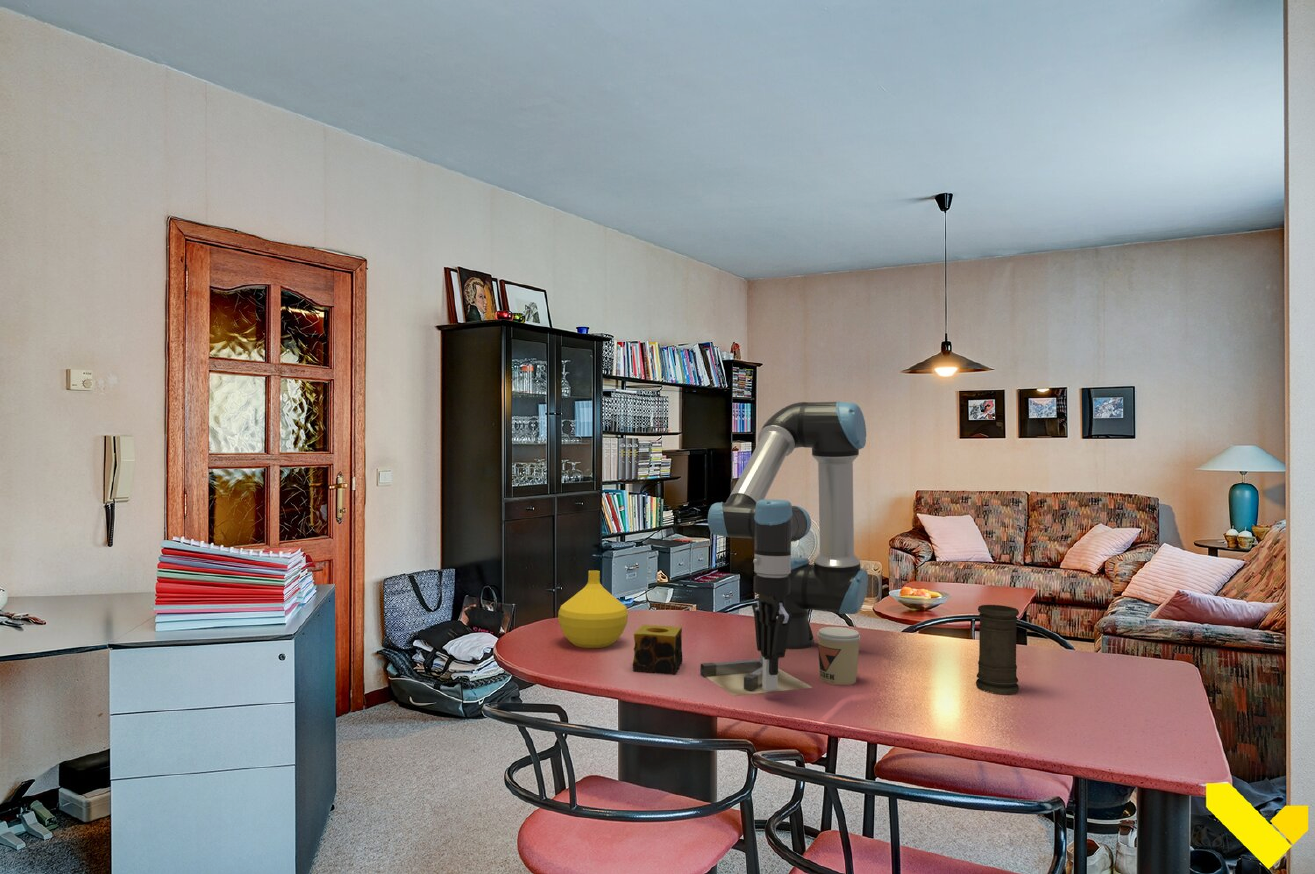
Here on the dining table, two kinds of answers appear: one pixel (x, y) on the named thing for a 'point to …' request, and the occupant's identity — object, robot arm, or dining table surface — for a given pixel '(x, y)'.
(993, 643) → the container
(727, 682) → the board
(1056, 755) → the dining table surface
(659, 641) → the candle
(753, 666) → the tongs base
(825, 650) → the coffee cup
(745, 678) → the bar
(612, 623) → the vase
